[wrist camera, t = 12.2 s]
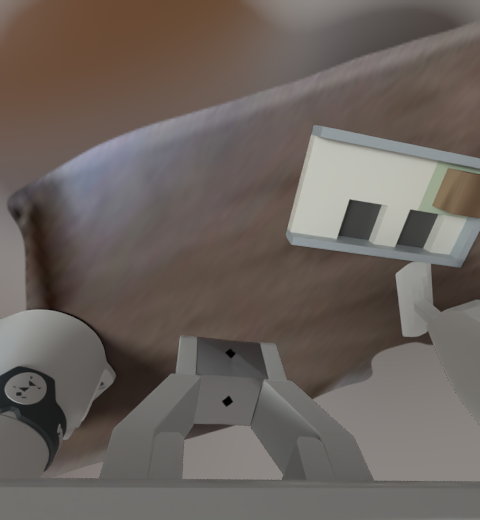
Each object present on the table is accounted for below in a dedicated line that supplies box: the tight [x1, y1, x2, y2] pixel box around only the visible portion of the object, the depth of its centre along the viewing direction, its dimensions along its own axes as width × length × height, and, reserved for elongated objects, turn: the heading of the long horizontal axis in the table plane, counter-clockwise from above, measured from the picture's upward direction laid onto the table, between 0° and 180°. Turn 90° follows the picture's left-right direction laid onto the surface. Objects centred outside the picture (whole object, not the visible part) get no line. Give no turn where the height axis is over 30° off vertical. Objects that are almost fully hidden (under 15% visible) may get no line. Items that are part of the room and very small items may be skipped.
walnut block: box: [432, 168, 480, 219], centre depth 37 cm, size 4×4×4 cm
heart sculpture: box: [395, 262, 480, 425], centre depth 39 cm, size 16×5×18 cm, turn 18°
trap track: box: [286, 125, 480, 268], centre depth 38 cm, size 23×13×3 cm, turn 79°
